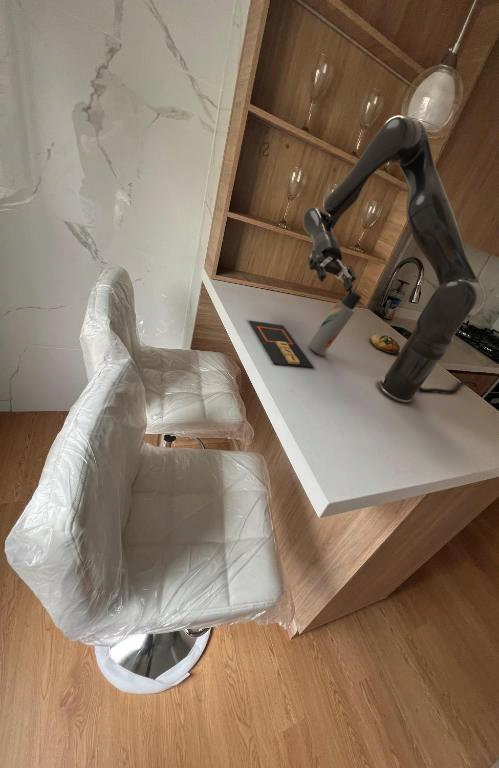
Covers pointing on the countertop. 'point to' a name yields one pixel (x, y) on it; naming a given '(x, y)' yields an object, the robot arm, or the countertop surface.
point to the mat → (280, 345)
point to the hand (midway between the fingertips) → (336, 284)
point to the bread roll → (385, 343)
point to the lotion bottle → (334, 323)
